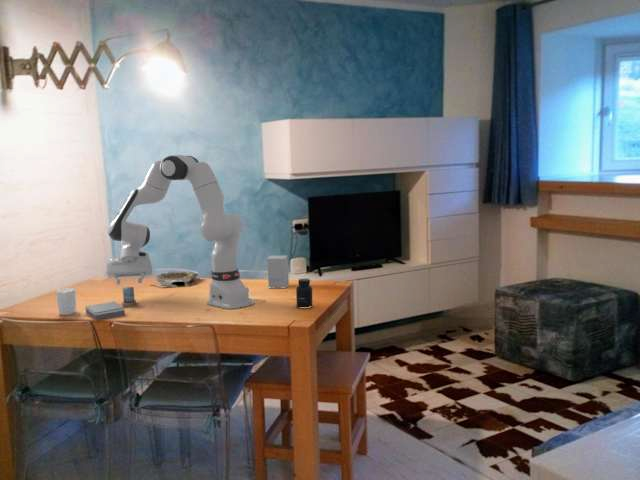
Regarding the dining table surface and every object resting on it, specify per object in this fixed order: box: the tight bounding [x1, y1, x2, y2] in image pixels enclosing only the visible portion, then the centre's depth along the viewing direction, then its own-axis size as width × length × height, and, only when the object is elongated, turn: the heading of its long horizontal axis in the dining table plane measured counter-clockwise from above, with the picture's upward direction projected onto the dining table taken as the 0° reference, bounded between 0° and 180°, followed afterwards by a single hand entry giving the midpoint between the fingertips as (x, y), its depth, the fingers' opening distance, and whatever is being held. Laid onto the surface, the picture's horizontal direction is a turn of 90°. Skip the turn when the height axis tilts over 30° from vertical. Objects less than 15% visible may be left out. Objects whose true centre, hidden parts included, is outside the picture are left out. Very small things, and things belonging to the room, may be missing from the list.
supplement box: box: [266, 255, 290, 289], centre depth 292 cm, size 9×9×15 cm
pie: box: [155, 271, 199, 289], centre depth 310 cm, size 28×27×5 cm
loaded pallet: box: [121, 286, 137, 308], centre depth 265 cm, size 7×5×8 cm
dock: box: [84, 301, 126, 320], centre depth 251 cm, size 14×12×3 cm
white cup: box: [55, 287, 77, 316], centre depth 254 cm, size 8×8×10 cm
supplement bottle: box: [295, 278, 313, 308], centre depth 252 cm, size 7×7×12 cm
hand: (129, 283), depth 269 cm, fingers open, 8 cm apart
